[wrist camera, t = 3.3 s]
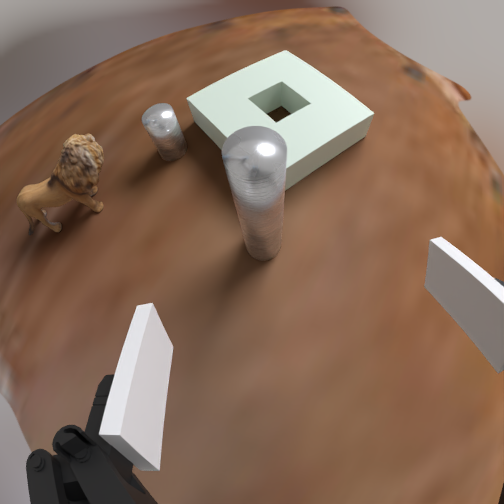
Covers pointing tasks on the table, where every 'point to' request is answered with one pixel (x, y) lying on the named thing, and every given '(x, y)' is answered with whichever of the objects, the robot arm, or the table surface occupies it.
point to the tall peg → (257, 186)
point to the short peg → (165, 131)
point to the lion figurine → (66, 182)
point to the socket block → (293, 100)
